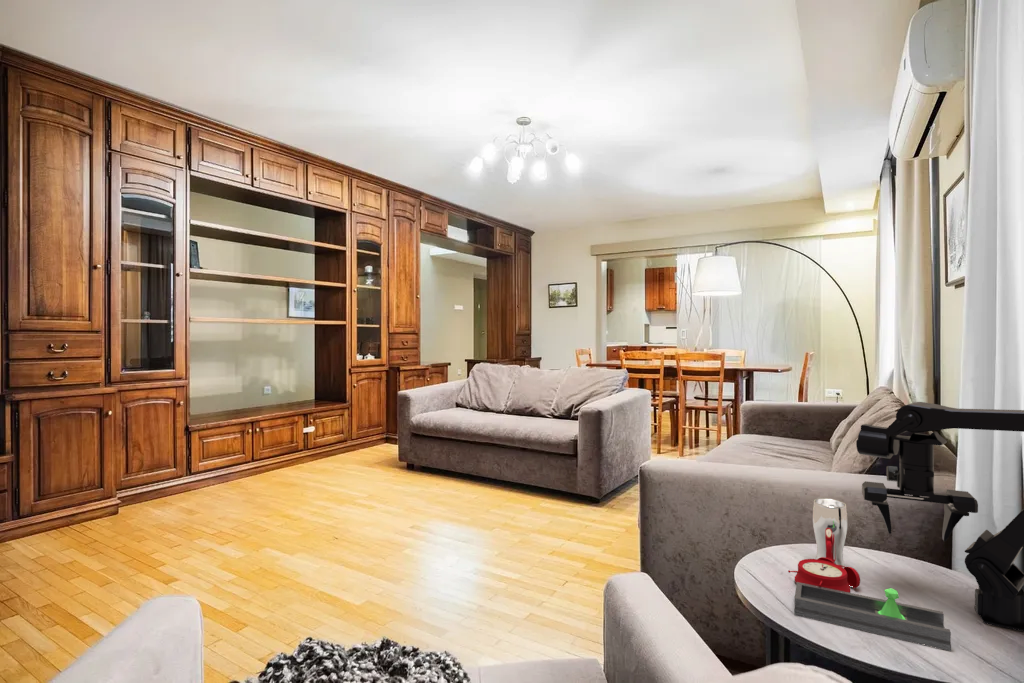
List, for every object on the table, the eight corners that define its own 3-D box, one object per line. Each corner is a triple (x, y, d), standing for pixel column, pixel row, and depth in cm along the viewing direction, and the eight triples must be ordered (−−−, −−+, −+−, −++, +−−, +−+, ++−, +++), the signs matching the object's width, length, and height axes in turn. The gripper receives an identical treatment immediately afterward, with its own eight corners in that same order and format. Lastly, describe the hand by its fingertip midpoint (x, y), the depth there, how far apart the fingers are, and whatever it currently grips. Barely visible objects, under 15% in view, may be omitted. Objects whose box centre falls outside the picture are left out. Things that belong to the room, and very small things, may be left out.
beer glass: (834, 575, 120) (834, 509, 119) (806, 562, 126) (805, 500, 126) (854, 568, 122) (854, 504, 122) (826, 557, 129) (825, 496, 128)
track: (941, 625, 99) (941, 609, 99) (951, 651, 91) (951, 634, 91) (796, 594, 112) (796, 580, 111) (794, 614, 104) (794, 599, 104)
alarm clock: (780, 565, 116) (823, 539, 122) (784, 592, 117) (827, 564, 123) (826, 586, 107) (870, 556, 113) (830, 614, 108) (874, 583, 114)
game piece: (906, 618, 100) (906, 587, 100) (904, 628, 97) (904, 596, 96) (879, 610, 103) (879, 580, 102) (876, 620, 99) (876, 589, 99)
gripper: (963, 458, 113) (963, 530, 113) (859, 450, 122) (859, 517, 122) (978, 471, 103) (978, 550, 104) (864, 461, 112) (864, 534, 112)
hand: (916, 536), depth 111 cm, fingers open, 9 cm apart
